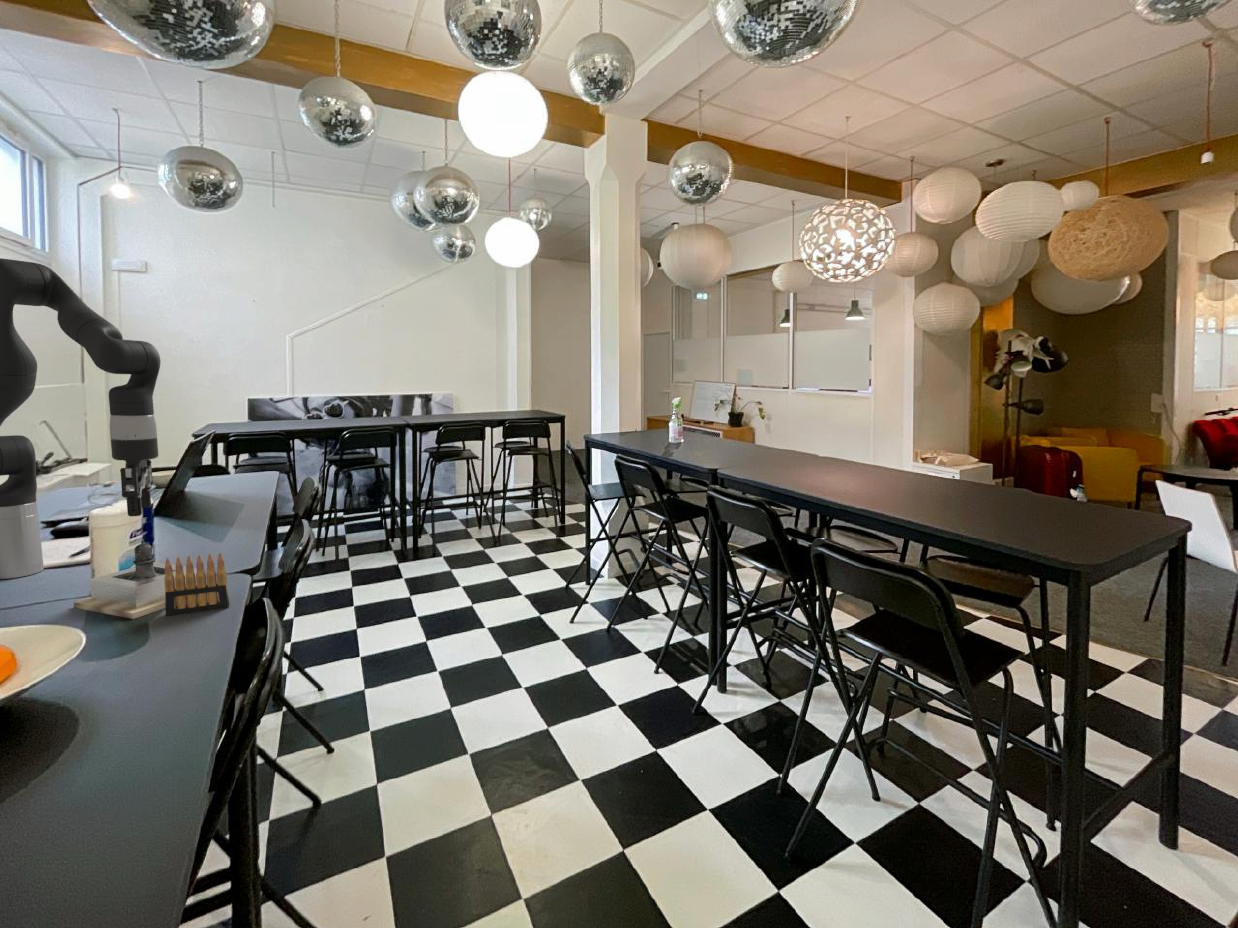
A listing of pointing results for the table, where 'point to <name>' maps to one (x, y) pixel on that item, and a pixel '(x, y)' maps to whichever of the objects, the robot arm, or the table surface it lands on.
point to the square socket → (131, 587)
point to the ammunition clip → (195, 587)
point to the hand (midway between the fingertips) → (140, 511)
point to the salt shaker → (143, 563)
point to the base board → (119, 608)
